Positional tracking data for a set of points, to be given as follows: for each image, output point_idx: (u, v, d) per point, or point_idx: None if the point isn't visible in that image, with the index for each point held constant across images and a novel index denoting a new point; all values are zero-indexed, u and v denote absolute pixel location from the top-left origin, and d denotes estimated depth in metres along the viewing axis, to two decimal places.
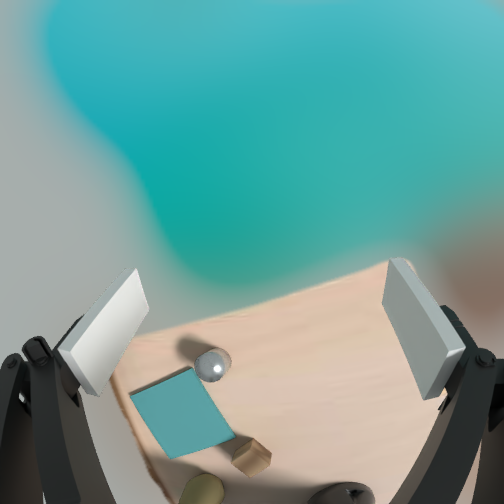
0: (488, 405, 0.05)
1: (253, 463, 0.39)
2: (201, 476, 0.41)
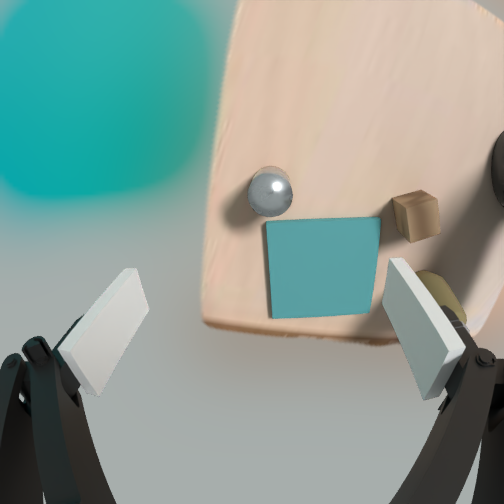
0: (488, 405, 0.05)
1: (425, 216, 0.31)
2: None
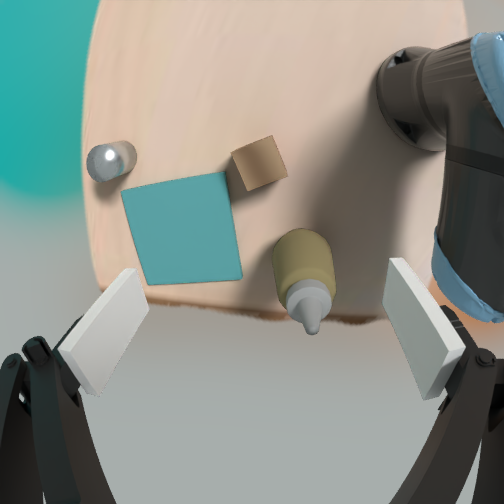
0: (488, 405, 0.05)
1: (259, 158, 0.31)
2: None
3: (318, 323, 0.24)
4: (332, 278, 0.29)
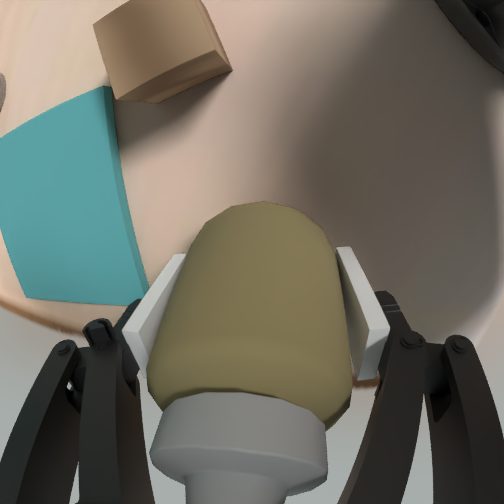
0: (422, 386, 0.06)
1: (147, 20, 0.08)
2: None
3: None
4: (342, 376, 0.07)
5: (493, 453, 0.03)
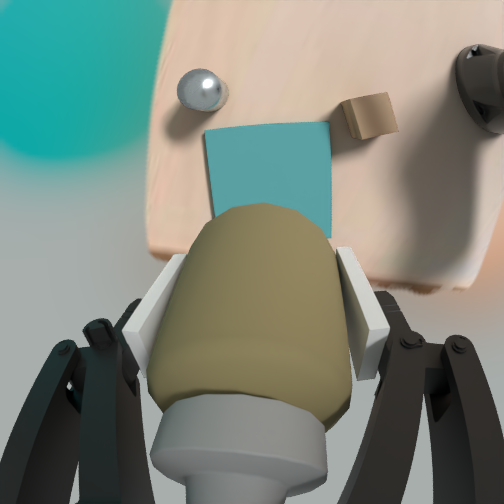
0: (421, 386, 0.06)
1: (375, 109, 0.27)
2: None
3: None
4: (342, 377, 0.07)
5: (493, 453, 0.03)
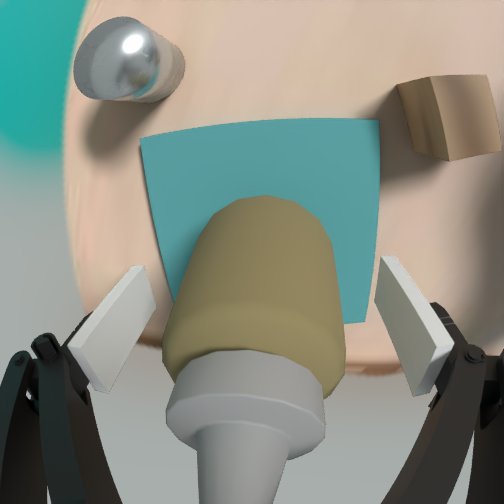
0: (478, 401, 0.05)
1: (471, 104, 0.10)
2: None
3: None
4: (336, 341, 0.08)
5: None
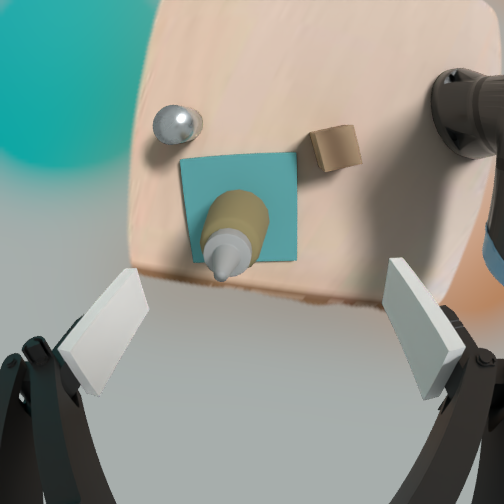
0: (488, 405, 0.05)
1: (340, 143, 0.31)
2: None
3: (228, 269, 0.24)
4: (256, 231, 0.28)
5: None
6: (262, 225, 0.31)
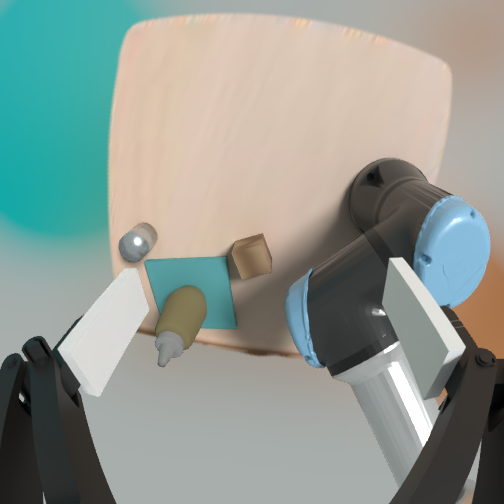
0: (488, 405, 0.05)
1: (251, 259, 0.45)
2: None
3: (165, 361, 0.38)
4: (186, 331, 0.42)
5: None
6: (194, 322, 0.45)
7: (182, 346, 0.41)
